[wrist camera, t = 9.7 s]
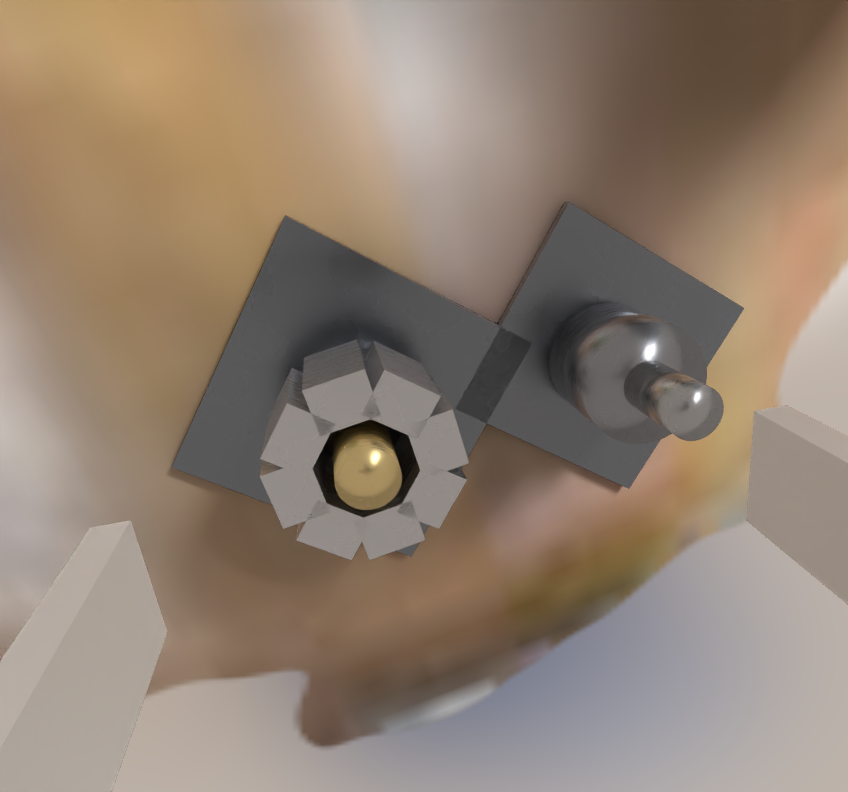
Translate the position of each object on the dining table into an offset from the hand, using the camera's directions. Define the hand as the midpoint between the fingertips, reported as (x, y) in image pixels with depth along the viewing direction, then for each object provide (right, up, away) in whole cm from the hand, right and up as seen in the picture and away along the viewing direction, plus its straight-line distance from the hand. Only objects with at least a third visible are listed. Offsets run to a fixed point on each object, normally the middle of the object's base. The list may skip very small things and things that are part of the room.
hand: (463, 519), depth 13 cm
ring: (-4, +1, +17) cm, 17 cm away
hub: (-5, +2, +20) cm, 20 cm away
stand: (+9, +5, +21) cm, 24 cm away
